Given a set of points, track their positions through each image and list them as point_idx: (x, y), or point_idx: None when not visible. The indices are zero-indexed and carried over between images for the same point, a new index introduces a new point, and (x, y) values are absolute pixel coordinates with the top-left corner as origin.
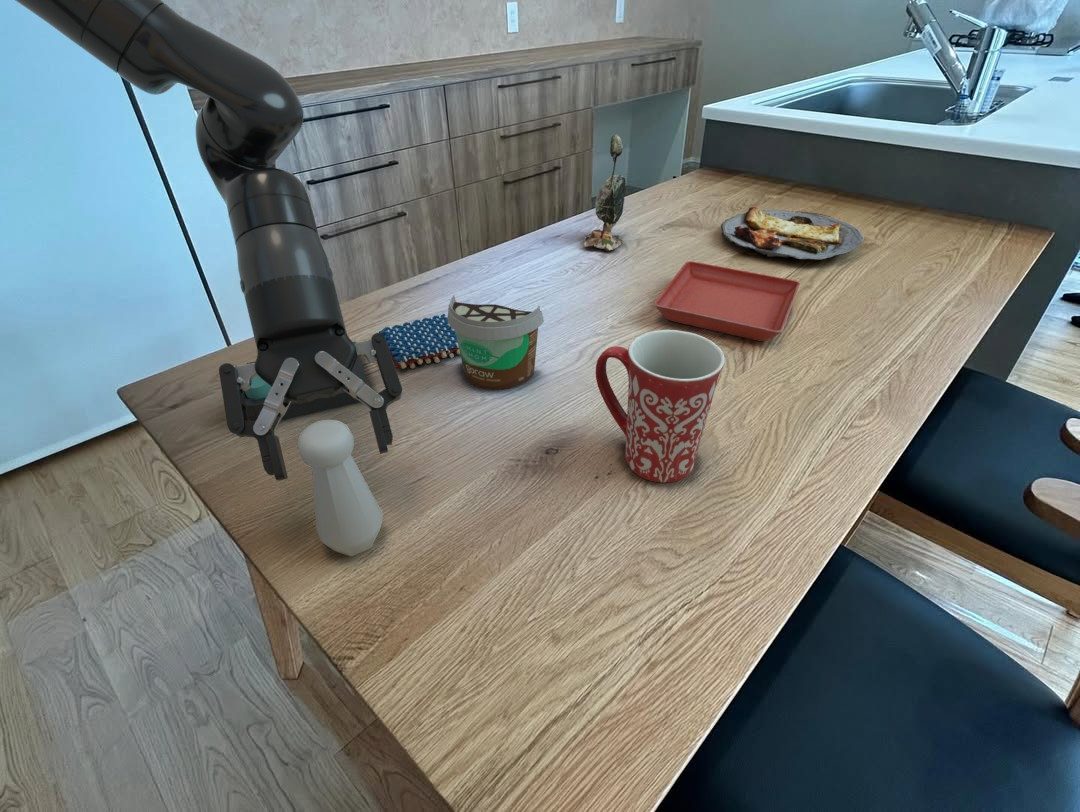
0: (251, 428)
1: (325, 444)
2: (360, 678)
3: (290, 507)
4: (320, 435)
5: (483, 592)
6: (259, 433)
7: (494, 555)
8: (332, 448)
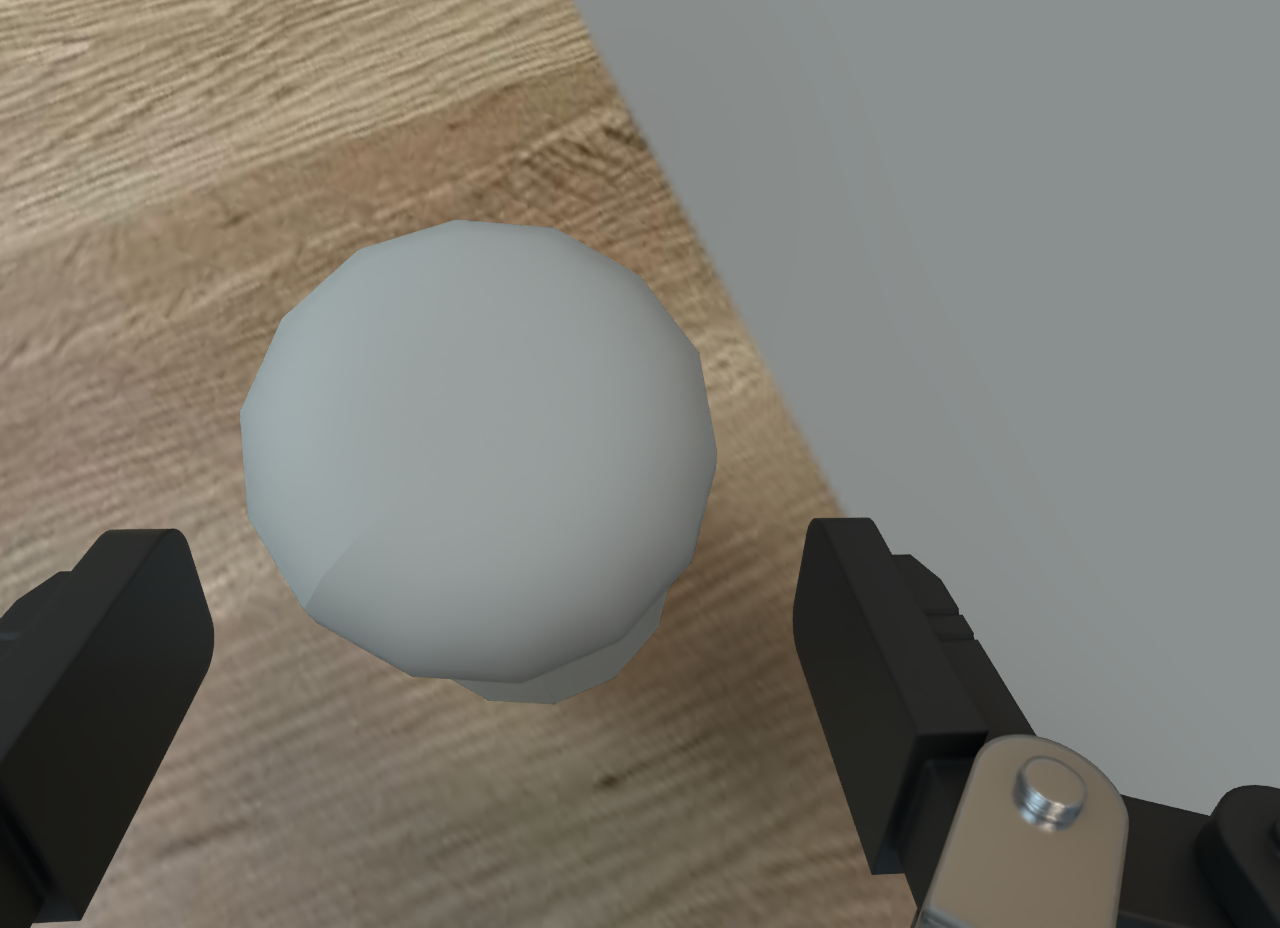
0: (1133, 845)
1: (476, 242)
2: (595, 70)
3: (781, 867)
4: (500, 346)
5: (174, 179)
6: (1046, 752)
7: (69, 300)
8: (433, 229)
